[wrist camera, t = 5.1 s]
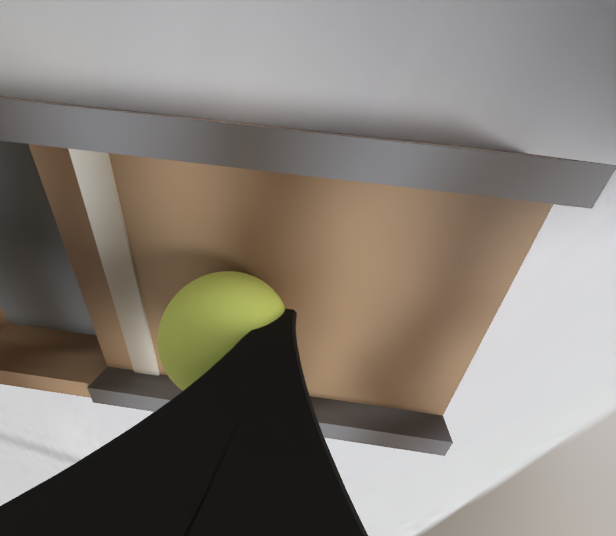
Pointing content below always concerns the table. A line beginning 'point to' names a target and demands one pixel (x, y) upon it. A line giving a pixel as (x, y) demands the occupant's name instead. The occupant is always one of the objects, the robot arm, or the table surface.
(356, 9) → the table surface
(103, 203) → the wooden tray
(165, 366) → the ball
